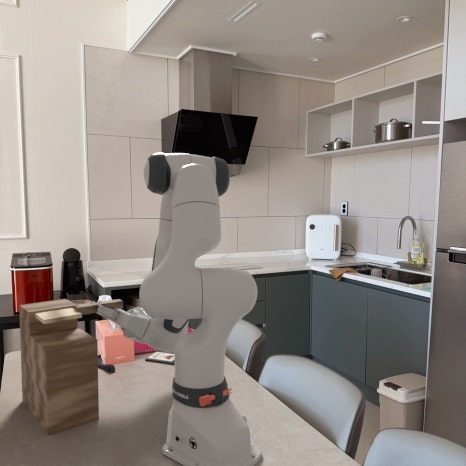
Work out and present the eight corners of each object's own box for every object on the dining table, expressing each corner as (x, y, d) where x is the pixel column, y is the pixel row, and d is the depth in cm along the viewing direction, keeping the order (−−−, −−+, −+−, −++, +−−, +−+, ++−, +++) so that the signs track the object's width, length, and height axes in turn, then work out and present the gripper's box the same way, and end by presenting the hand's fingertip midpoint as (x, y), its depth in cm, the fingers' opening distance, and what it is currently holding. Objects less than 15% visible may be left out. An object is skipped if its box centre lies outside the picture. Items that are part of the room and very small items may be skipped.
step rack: (98, 419, 110) (96, 315, 108) (48, 435, 103) (45, 324, 100) (67, 389, 127) (65, 298, 125) (22, 401, 120) (19, 305, 117)
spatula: (115, 304, 123) (115, 297, 123) (126, 309, 118) (126, 302, 118) (35, 317, 110) (34, 309, 110) (43, 324, 105) (43, 315, 105)
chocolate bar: (194, 366, 143) (145, 359, 149) (194, 369, 143) (145, 362, 149) (205, 356, 152) (158, 350, 158) (205, 359, 152) (158, 353, 158)
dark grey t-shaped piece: (93, 381, 134) (93, 372, 134) (66, 368, 144) (66, 360, 143) (132, 367, 145) (132, 359, 145) (105, 357, 155) (105, 349, 154)
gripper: (125, 305, 133) (85, 288, 125) (160, 321, 117) (117, 302, 109) (115, 325, 131) (74, 309, 123) (149, 344, 116) (105, 326, 107)
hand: (94, 306), depth 116 cm, fingers closed on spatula, 2 cm apart
